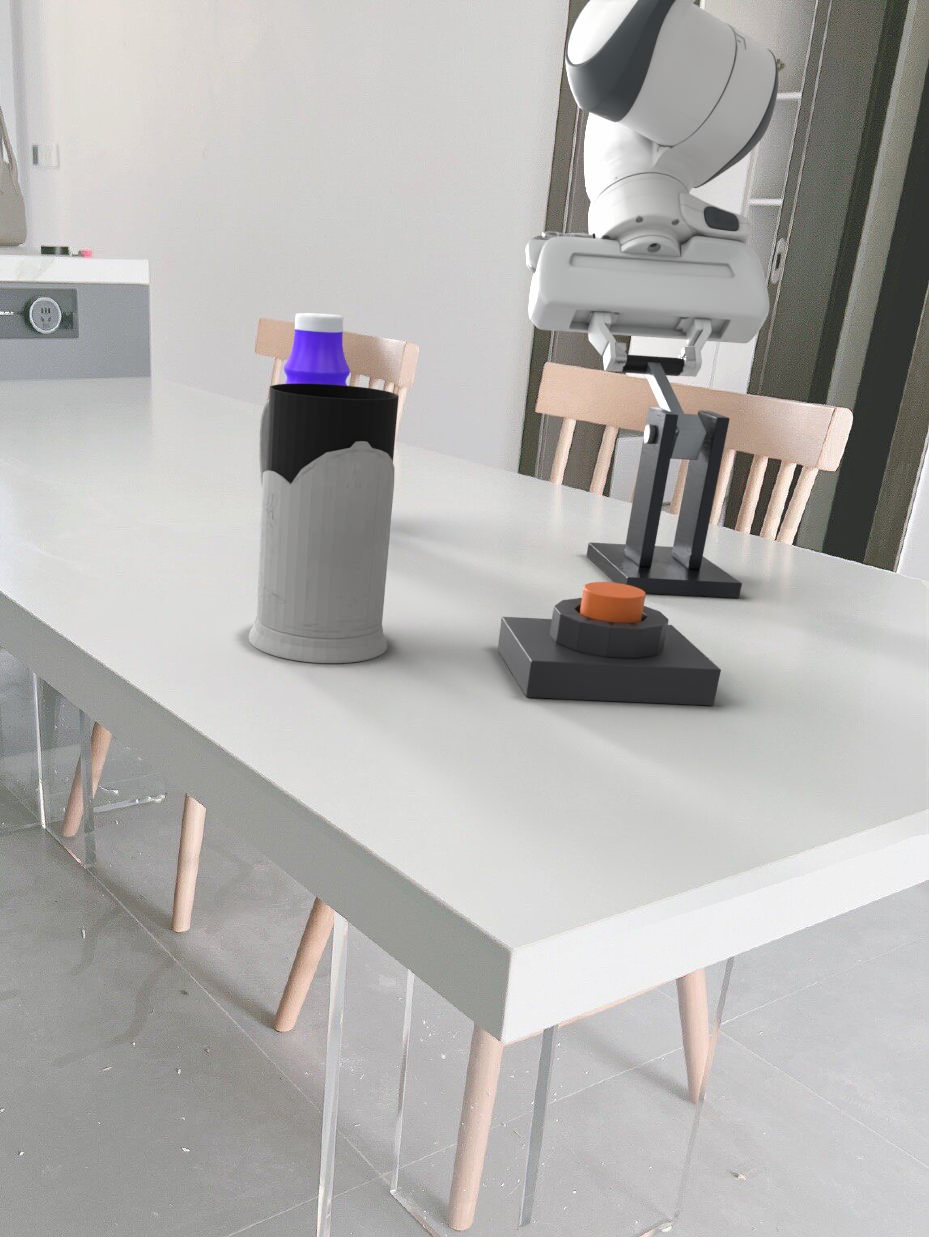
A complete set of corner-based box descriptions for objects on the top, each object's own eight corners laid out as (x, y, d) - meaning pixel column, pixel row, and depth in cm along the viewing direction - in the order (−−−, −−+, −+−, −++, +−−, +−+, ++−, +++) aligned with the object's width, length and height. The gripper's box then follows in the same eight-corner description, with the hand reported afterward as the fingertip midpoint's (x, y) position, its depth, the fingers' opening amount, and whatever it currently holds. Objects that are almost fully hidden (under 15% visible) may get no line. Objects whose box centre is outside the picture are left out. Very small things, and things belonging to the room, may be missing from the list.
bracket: (586, 556, 104) (610, 399, 99) (688, 561, 105) (718, 406, 99) (625, 592, 93) (654, 419, 88) (739, 598, 94) (775, 426, 89)
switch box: (665, 657, 78) (677, 596, 77) (713, 706, 70) (728, 638, 68) (497, 649, 77) (505, 588, 76) (525, 697, 69) (535, 629, 68)
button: (631, 611, 74) (635, 583, 73) (648, 628, 71) (653, 599, 70) (572, 608, 74) (577, 580, 73) (587, 625, 70) (592, 596, 70)
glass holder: (283, 668, 71) (297, 399, 65) (197, 603, 83) (202, 370, 76) (412, 656, 75) (437, 401, 69) (313, 596, 86) (327, 373, 80)
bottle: (314, 533, 105) (327, 317, 98) (259, 522, 108) (268, 311, 101) (356, 521, 111) (371, 316, 104) (303, 511, 114) (314, 311, 107)
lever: (616, 372, 104) (624, 345, 102) (673, 376, 104) (681, 349, 103) (652, 457, 94) (661, 429, 92) (715, 461, 94) (724, 433, 93)
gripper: (533, 202, 103) (541, 334, 99) (767, 219, 105) (786, 351, 100) (516, 258, 109) (523, 386, 105) (738, 274, 111) (754, 400, 106)
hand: (653, 369), depth 102 cm, fingers closed on lever, 5 cm apart
